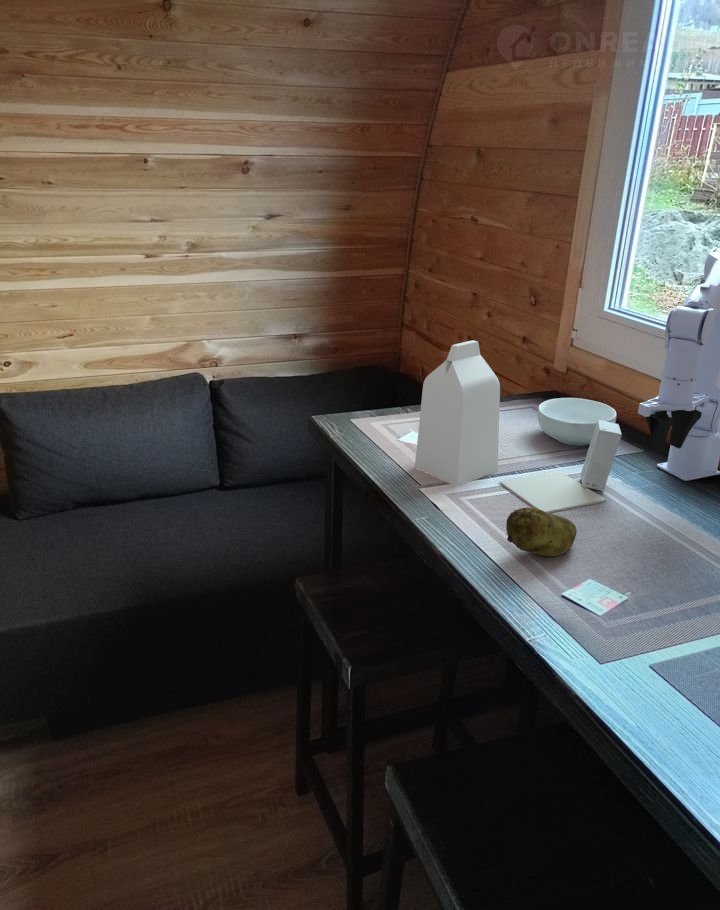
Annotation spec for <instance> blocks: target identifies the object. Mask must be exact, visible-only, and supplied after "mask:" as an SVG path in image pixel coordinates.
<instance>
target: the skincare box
mask: <svg viewBox="0 0 720 910" xmlns="http://www.w3.org/2000/svg"><path fill="white" fill-rule="evenodd" d="M622 436H623V435H622V431H621V428H620V425H619V423H616V422H615V423H611V422H606V421H602V420H597V424H596V427H595V430H594V433H593V436H592V439H591V443H590V444H589V447H588V450H587V453H586V457H585V459H584V462H583V465H582V470H581V473H580V478H581V480H580V481H581V484H582V486H583V487H586V488H588V489H590V490H596V491H601V492H604V491H605V488H606V485H607V481H608V478H609V476H610V473H611V469H612V467H613V463H614V462H615V461H614V460H615V457H616V454H617V452H618V448H619V445H620V442H621V439H622Z"/></svg>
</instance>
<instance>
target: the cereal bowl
mask: <svg viewBox="0 0 720 910" xmlns="http://www.w3.org/2000/svg"><path fill="white" fill-rule="evenodd" d="M597 420H602V421H606V422H611V423H615V424H616V421H617V412H616V410H615V409H614V408H613V407H611V406H610V405H608V404H606V403H602V402H600V401H595V400H592V399H591V400H590V399H586V398H577V397H560V398H551V399H547V400H545V401H543V402H541V403H539V405H538V408H537V421H538V425H539V427H540V429H541V430H542V431H543V432H544V433H545V434H546V435H547V436H549V437H551V438H553V439H555V440H557V441H558V442H560V443H562V444H566V445H570V446H586V445H590V443H591V439H592V436H593V433H594V430H595V427H596V424H597Z"/></svg>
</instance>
